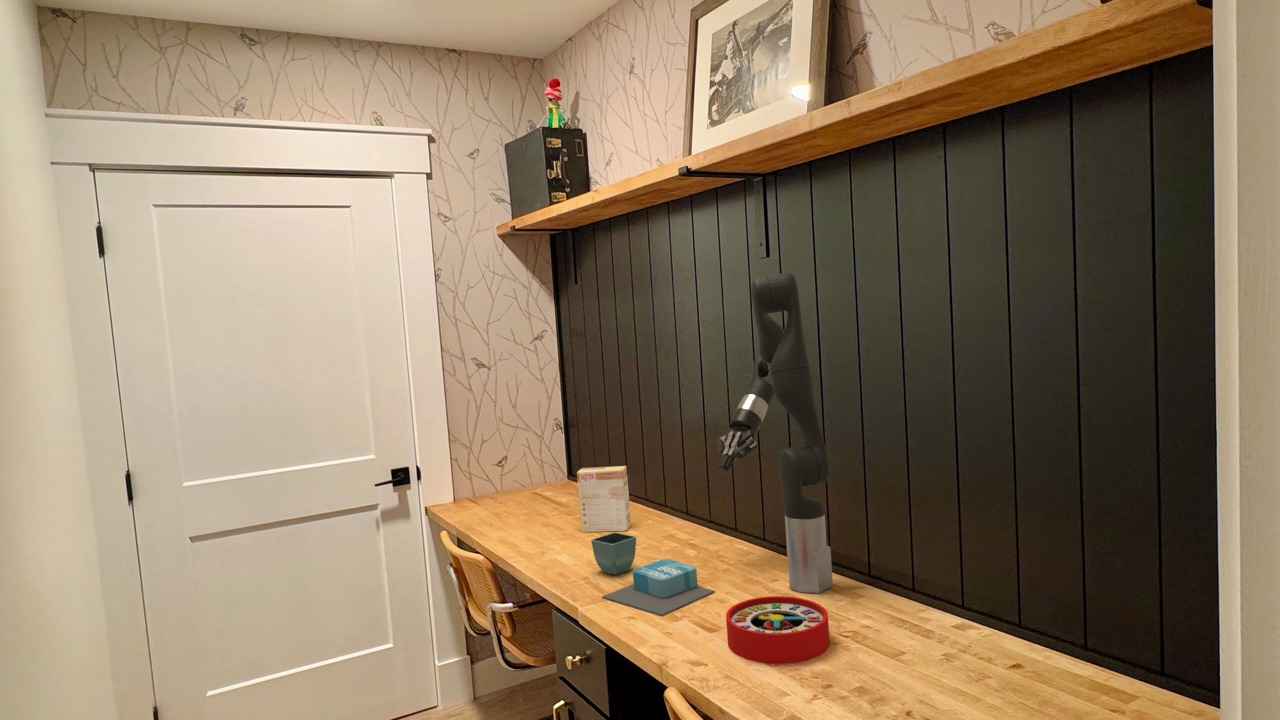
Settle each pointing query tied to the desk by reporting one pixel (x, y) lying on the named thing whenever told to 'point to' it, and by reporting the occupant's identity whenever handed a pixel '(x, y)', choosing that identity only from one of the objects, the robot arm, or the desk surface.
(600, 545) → the flower pot
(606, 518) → the coffeecake box
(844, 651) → the desk surface
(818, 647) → the toy clock
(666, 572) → the data package
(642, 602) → the mat
